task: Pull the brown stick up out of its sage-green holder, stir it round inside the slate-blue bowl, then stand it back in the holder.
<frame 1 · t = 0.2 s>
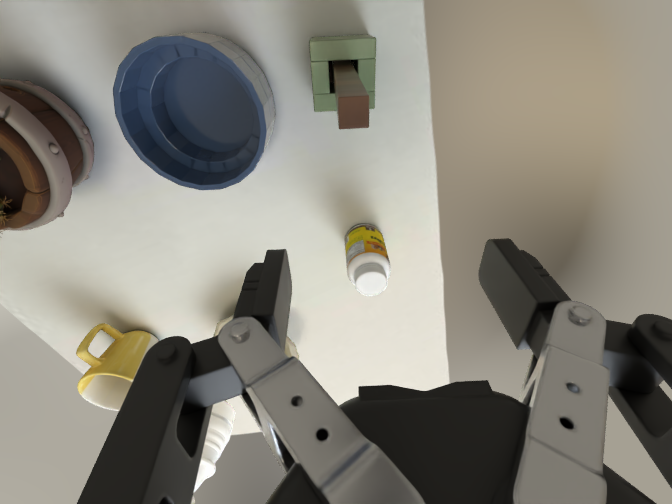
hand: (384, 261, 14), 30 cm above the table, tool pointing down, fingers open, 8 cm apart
flowerpot: (49, 132, 39), on the table
mug: (139, 333, 59), on the table
mixing bowl: (214, 105, 38), on the table
bowl: (261, 323, 59), on the table
brown stick: (345, 84, 28), in the stick holder
stick holder: (341, 68, 36), on the table
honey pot: (206, 410, 74), on the table
supplement bottle: (363, 237, 49), on the table
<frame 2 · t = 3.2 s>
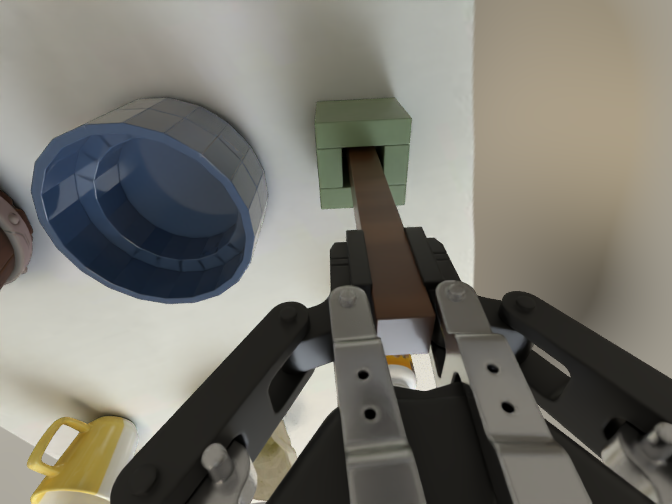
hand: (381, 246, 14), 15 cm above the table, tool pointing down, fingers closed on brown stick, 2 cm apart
mug: (111, 417, 50), on the table
mixing bowl: (187, 183, 28), on the table
bowl: (254, 407, 50), on the table
brown stick: (369, 194, 18), in the stick holder, touching gripper
stick holder: (356, 139, 27), on the table
supplement bottle: (378, 323, 40), on the table
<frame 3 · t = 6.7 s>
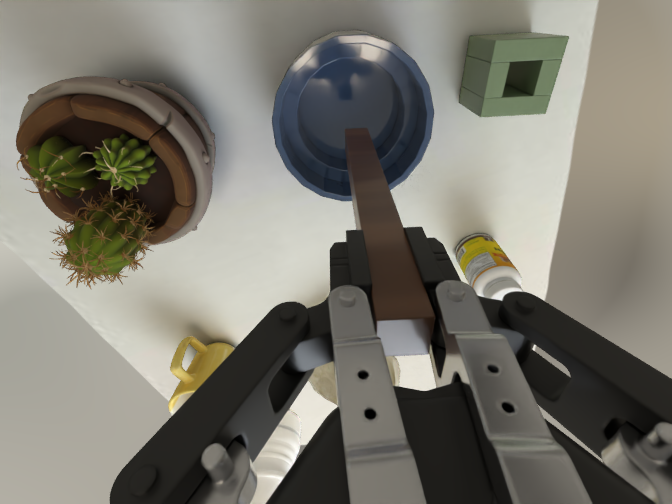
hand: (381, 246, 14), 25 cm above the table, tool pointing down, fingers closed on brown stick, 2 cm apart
flowerpot: (165, 137, 36), on the table
mug: (218, 345, 57), on the table
mixing bowl: (348, 109, 35), on the table
bowl: (347, 335, 56), on the table
brown stick: (369, 195, 19), point 20 cm above the table, touching gripper
stick holder: (493, 69, 33), on the table
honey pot: (271, 421, 72), on the table
supplement bottle: (473, 247, 46), on the table
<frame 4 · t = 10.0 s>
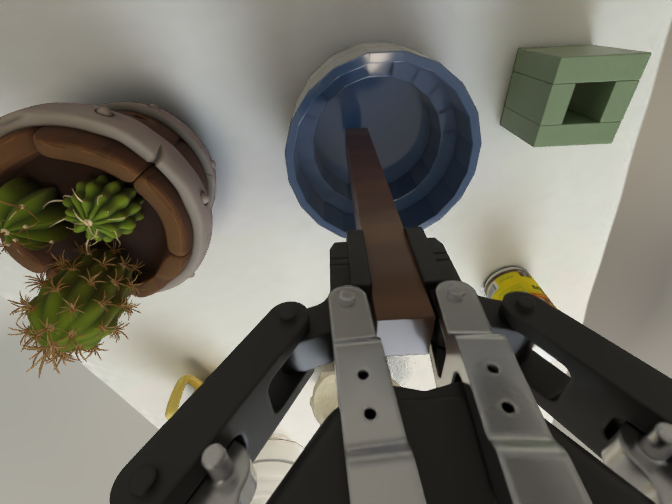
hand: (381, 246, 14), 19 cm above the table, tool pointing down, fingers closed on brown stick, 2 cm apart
flowerpot: (158, 163, 31), on the table
mug: (219, 379, 52), on the table
mixing bowl: (371, 132, 30), on the table
bowl: (359, 369, 51), on the table
brown stick: (369, 195, 19), point 14 cm above the table, touching gripper
stick holder: (543, 87, 28), on the table
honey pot: (275, 453, 67), on the table
supplement bottle: (504, 281, 41), on the table
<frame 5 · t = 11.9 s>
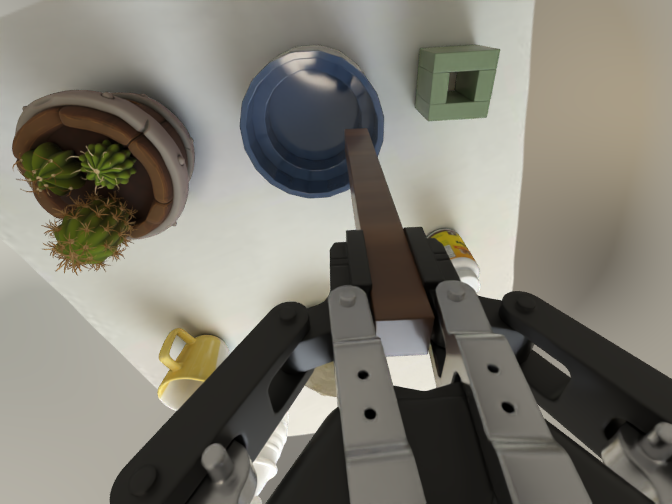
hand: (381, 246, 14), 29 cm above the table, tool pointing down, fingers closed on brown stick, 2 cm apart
flowerpot: (150, 142, 40), on the table
mug: (206, 337, 60), on the table
mixing bowl: (314, 114, 38), on the table
bowl: (327, 326, 59), on the table
brown stick: (369, 195, 19), point 24 cm above the table, touching gripper
stick holder: (444, 77, 37), on the table
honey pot: (260, 412, 75), on the table
supplement bottle: (440, 241, 49), on the table
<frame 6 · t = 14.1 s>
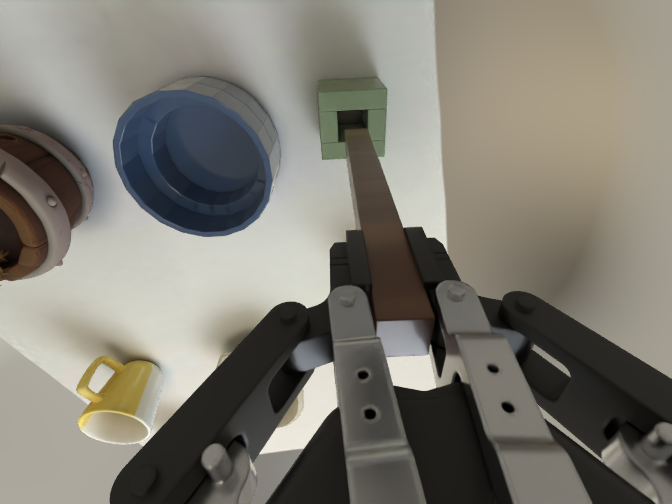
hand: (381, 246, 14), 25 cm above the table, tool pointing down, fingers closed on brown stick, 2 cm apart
flowerpot: (46, 172, 38), on the table
mug: (140, 362, 58), on the table
mixing bowl: (217, 146, 36), on the table
bowl: (264, 353, 58), on the table
brown stick: (369, 195, 19), point 20 cm above the table, touching gripper
stick holder: (349, 110, 35), on the table
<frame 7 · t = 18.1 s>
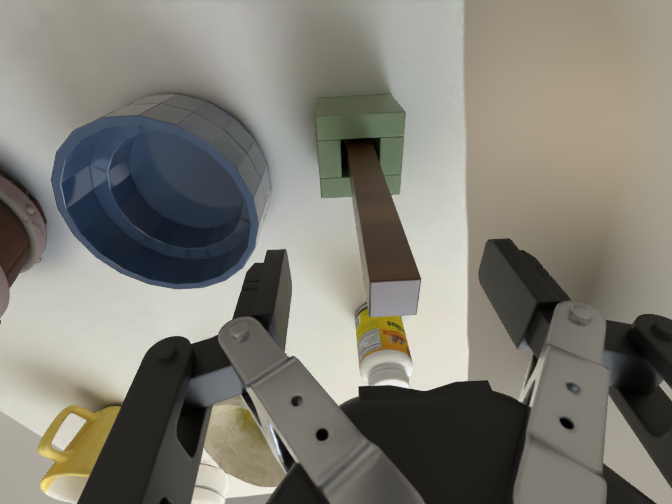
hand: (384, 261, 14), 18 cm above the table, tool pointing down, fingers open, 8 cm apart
mug: (117, 407, 52), on the table
mixing bowl: (194, 175, 30), on the table
bowl: (256, 397, 51), on the table
brown stick: (366, 183, 20), in the stick holder
stick holder: (354, 133, 28), on the table
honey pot: (197, 476, 67), on the table
supplement bottle: (376, 313, 41), on the table
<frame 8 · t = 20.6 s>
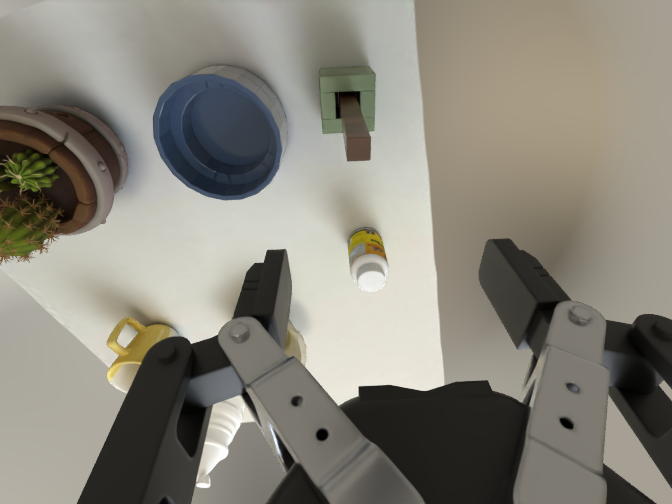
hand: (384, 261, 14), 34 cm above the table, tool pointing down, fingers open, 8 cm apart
flowerpot: (88, 148, 44), on the table
mug: (159, 326, 65), on the table
mixing bowl: (234, 125, 43), on the table
bowl: (270, 317, 64), on the table
brown stick: (350, 115, 33), in the stick holder
stick holder: (345, 94, 41), on the table
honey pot: (218, 399, 80), on the table
supplement bottle: (364, 240, 54), on the table
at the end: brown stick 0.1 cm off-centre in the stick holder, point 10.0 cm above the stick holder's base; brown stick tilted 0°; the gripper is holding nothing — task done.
